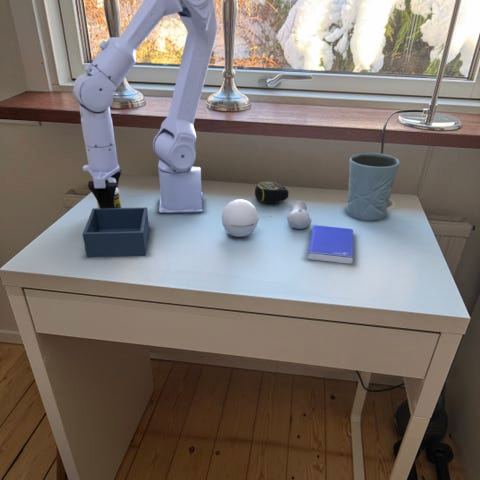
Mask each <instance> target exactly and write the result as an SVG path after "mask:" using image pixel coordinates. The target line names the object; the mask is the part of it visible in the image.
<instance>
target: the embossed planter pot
mask: <svg viewBox="0 0 480 480" xmlns="http://www.w3.org/2000/svg"><path fill="white" fill-rule="evenodd" d="M400 163H401V162H400V159H398V158H397V157H395V156H393V155H389V154H385V153H379V152H361V153H356V154H353V155H351V156H350V157H349V166H348V168H349V169H348V173H349V174H348V190H347V191H348V194H347V202H346V203H347V204H346V205H347V206H346V213H347V214H348V215H349V216H350V217H352V218H353V219H357V220H361V221H366V222H367V221H369V222H372V221H373V222H374V221H380V220H382V219H384V218H385V216H386V214H387V210H388V207H389V206H388V205H389V201H390V198H391V195H392V192H393V185H394V183H395V180H396V178H397V177H396V176H397V173H398V170H399V166H400Z"/></svg>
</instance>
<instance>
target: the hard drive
mask: <svg viewBox="0 0 480 480" xmlns="http://www.w3.org/2000/svg"><path fill="white" fill-rule="evenodd" d="M308 246H309V247H308V250H307V251H308V252H307V259H308V260H312V261H321V262H329V263H339V264H348V265H350V264H353V262H354V261H353V260H354V229H352V228H349V227H348V228H346V227H337V226H328V225H319V224H314V225H312V230H311V234H310V241H309V245H308Z"/></svg>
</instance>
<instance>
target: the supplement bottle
mask: <svg viewBox="0 0 480 480" xmlns="http://www.w3.org/2000/svg"><path fill="white" fill-rule="evenodd" d="M107 180H108V181H109V183H111V182H116V179H115V178H112V177H109V178H108V179H107ZM96 203H97V208H100V206H99V204H98V202H97V201H96ZM114 208H122V201H121V195H120V189H119V187H118V188H117V187H116V191H115V198H114Z"/></svg>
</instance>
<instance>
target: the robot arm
mask: <svg viewBox="0 0 480 480" xmlns="http://www.w3.org/2000/svg"><path fill="white" fill-rule="evenodd" d="M215 4H216V3H215V0H143V1H142V3H141V4H140V6H139V7H138V9H137V10H136V12H135V13H134V15H133V16H132V17H131V19H130V21H129V22H128V24H127V26H126V27H125V29H124V30H123V32H122V34H121V35H120V36H117V37H116V36H115V37H109V38H108V40H107V41H106V40H102V41H101V42H100V44H99V48H100V50H99V52H98V53H97V55H96V56H95V58H94V59H92V61H91V63H90V65H89V64H86V65H85V67H84V68H83V70H84V71H85V72H86V73H83V74H79V76H77V77H76V79H75V80H74V82H73V88H72V91H71V92H72V95H73V98H74V99H75V101H76V102H77V103H79V104H78V108H79V114H80V124H81V129H82V135H83V141H84V142H83V143H84V147H85V153H86V157H87V164H85V165H83V166H82V171H83V172H88V173H89V175H90V176H91V177H92V180H89V181H88V183H87V187H88V190H89V191H90V192H91V194H92V195H93V196H94V198H95V199H96V203H97V202H98V203H97V205H98V204H99V206H100V208H114V198H115V191H116V187H117V188H118V189H119V182H120V178H121V175H122V169H121V167H120V164H119V161H118V153H117V147H116V140H115V131H114V125H113V117H112V113H111V106H112V105H113V103H114V92H115V91H116V90H118V88H119V86H120V85H121V84H122V82H123V81H124V80H125V78H126V77H127V76H128V74H129V73H130V71H131V70H132V69H133V68H134V66H135V65H136V63H137V57H136V56H137V55H136V52H137V50H138V48H139V47H140V46H141V45H142V44H143V43H144V41H145V40H146V39H147V37H148V36H149V35H150V34H151V33H152V32H153V30H154V29H155V28H156V27H157V25H158V24H159V23H160V22H161V20H163V18H164V17H166V16H170V15H174V14H178V16H179V18H180V20H181V23H182V24H183V25H184V28H185V29H186V31H187V33H186V37H185V41H184V46H183V51H182V56H181V60H180V64H179V68H178V72H177V76H176V81H175V86H174V89H173V94H172V98H171V102H170V107H169V110H168V115H167V117H166V118H165V119H164V120H163V121H162V123H161V124H160V128H159V130H158V133H156V134H155V136H154V138H153V141H152V150H153V153H154V155H155V156H156V158H158V164H157V171H158V180H159V181H158V182H159V192H160V193H159V194H160V198H159V207H158V213H159V214H185V213H202V212H203V201H204V193H203V191H202V167H201V166H193V165H194V163H195V162H196V158H197V151H196V143H197V142H196V141H197V134H196V130H195V127H194V123H195V120H196V116H197V111H198V108H199V104H200V100H201V96H202V92H203V88H204V86H205V85H204V84H205V80H206V77H207V74H208V69H209V66H210V65H209V64H210V62H211V58H212V53H213V49H214V45H215V42H216V38H217V35H218V20H217V14H216V6H215ZM109 177H112V178H115V179H116V182H111V183H109V181H108V180H107V179H108V178H109Z"/></svg>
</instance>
